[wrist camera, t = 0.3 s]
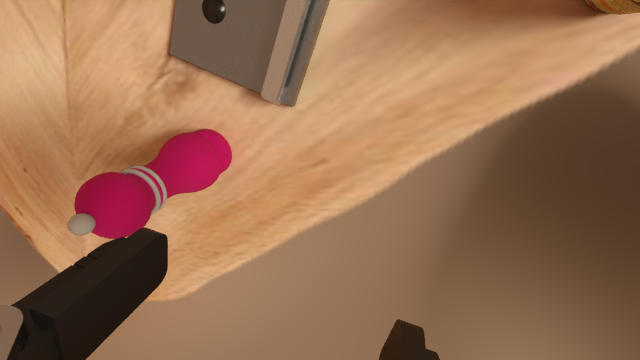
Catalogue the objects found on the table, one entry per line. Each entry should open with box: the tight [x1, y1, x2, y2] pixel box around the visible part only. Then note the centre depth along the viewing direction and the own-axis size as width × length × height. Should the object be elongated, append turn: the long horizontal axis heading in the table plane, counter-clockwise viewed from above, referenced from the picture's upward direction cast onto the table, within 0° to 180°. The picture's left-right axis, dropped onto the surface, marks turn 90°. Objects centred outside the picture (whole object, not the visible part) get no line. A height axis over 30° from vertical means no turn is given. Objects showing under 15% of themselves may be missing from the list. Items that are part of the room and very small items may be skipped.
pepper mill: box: [68, 129, 232, 239], centre depth 33 cm, size 7×7×20 cm
